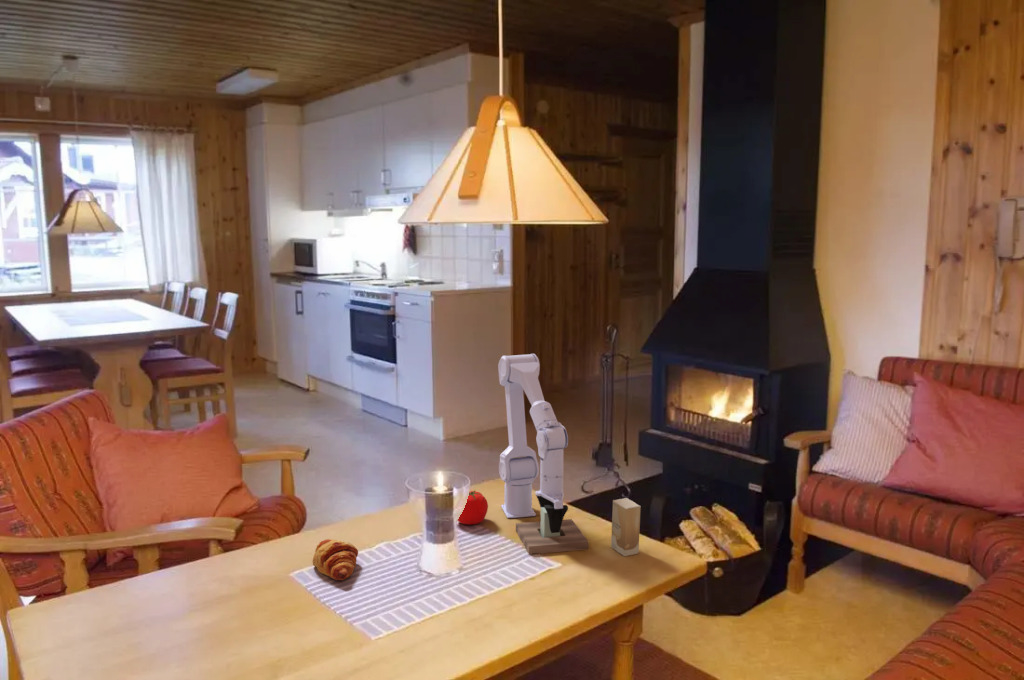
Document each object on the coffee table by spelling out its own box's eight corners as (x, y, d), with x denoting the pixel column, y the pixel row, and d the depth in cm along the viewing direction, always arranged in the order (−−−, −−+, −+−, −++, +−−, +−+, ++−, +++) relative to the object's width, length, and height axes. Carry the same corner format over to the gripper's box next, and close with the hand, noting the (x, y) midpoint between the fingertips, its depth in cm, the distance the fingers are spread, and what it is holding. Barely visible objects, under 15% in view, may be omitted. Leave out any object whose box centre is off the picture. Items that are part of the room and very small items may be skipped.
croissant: (315, 565, 191) (298, 540, 188) (351, 540, 194) (334, 515, 191) (333, 601, 172) (315, 573, 169) (373, 573, 175) (355, 545, 172)
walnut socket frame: (515, 530, 203) (515, 523, 203) (571, 526, 206) (571, 519, 206) (528, 554, 189) (528, 546, 188) (588, 549, 192) (588, 541, 192)
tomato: (448, 527, 206) (447, 496, 204) (459, 513, 215) (459, 484, 214) (482, 530, 203) (482, 499, 202) (492, 516, 213) (492, 486, 212)
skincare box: (610, 547, 193) (611, 499, 191) (625, 544, 195) (626, 497, 193) (624, 557, 187) (625, 508, 186) (639, 554, 189) (641, 505, 187)
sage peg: (540, 537, 199) (540, 507, 198) (555, 536, 200) (556, 506, 199) (544, 543, 195) (544, 513, 194) (559, 542, 196) (560, 511, 195)
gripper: (529, 466, 201) (529, 517, 203) (543, 484, 187) (542, 538, 189) (556, 464, 203) (555, 515, 205) (571, 482, 189) (570, 536, 191)
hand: (551, 526), depth 197 cm, fingers open, 7 cm apart
